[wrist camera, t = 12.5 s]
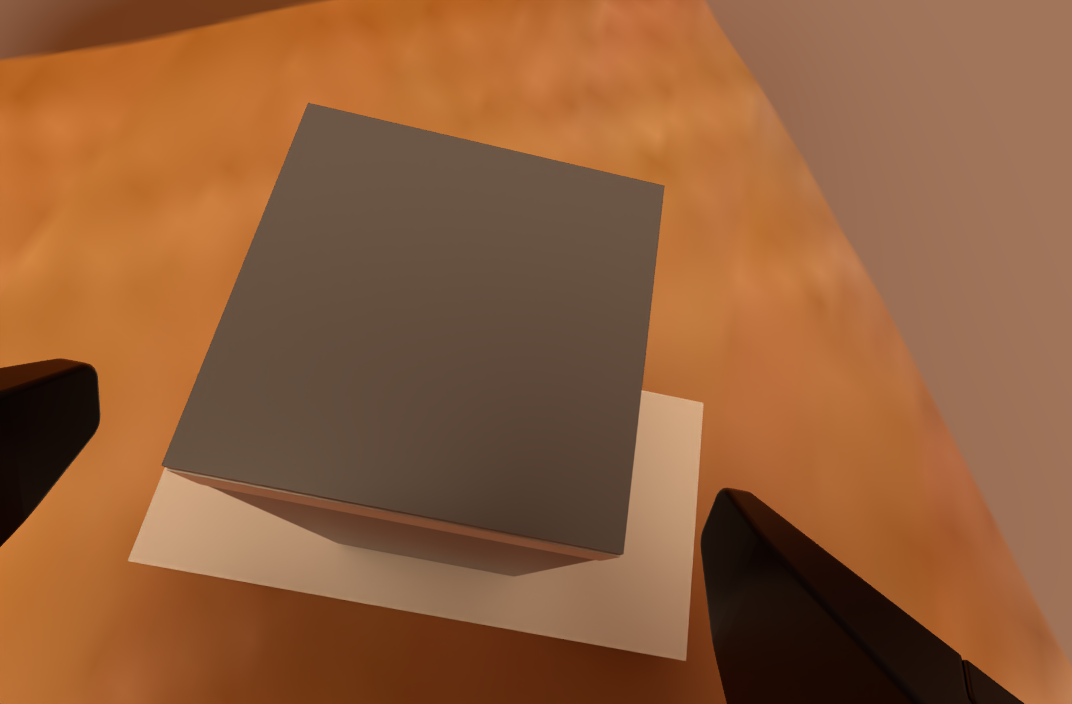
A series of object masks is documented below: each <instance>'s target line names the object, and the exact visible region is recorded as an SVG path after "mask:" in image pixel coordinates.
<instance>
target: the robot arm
mask: <svg viewBox="0 0 1072 704" xmlns="http://www.w3.org/2000/svg"><path fill="white" fill-rule="evenodd" d="M99 422H100V402H99V388H98V376H97V372H96V370H95V368H94V367H93V366H92V365H90V364H87V363H83V362H78V361H73V360H68V359H52V360H46V361H40V362H34V363H28V364H22V365H16V366H10V367H4V368H0V547H1V546H2V545H3V544H4V543H5V542H6V541H7V540H8V539H9V538H10V537H11V535H12V534H13V533H14V532H15V531H16V530H17V529H18V528H19V527H20V526H21V525H22V524H23V522H24V521H25V520H26V519H27V518H28V517H29V515H30V514H31V513H32V512H33V511H34V510H35V508H36V507H37V506H38V505H39V504H40V502H41V501H42V500H43V498H44V497H45V496H46V495H47V493H48V492H49V491H50V490H51V488H52V487H53V486H54V485H55V483H56V482H57V481H58V480H59V478H60V477H61V476H62V475H63V473H64V472H65V471H66V470H67V468H68V467H69V466H70V464H71V463H72V462H73V461H74V459H75V458H76V457H77V456H78V454H79V453H80V452H81V451H82V449H83V448H84V447H85V446H86V444H87V443H88V442H89V441H90V439H91V438H92V437H93V435H94V434H95V432H96V430H97V428H98V426H99ZM701 554H702V562H703V571H704V579H705V587H706V596H707V604H708V612H709V620H710V628H711V635H712V641H713V646H714V651H715V656H716V660H717V664H718V669H719V673H720V677H721V681H722V686H723V690H724V694H725V698H726V702H727V704H1024V703H1023V702H1022V701H1020V700H1019V699H1018V698H1016V697H1015V696H1014V695H1012V694H1011V693H1010V692H1008V691H1007V690H1006V689H1004V688H1003V687H1002V686H1000V685H999V684H998V683H996V682H995V681H994V680H992V679H991V678H990V677H989V676H987V675H986V674H985V673H983V672H982V671H981V670H980V669H978V668H977V667H976V666H974V665H973V664H972V663H971V662H969V661H968V660H962V658H961V655H960V654H959V653H957V652H956V651H955V650H954V649H952V648H951V647H950V646H948V645H947V644H946V643H944V642H943V641H942V640H941V639H939V638H938V637H937V636H935V635H934V634H933V633H931V632H930V631H929V630H928V629H926V628H925V627H924V626H922V625H921V624H920V623H919V622H917V621H916V620H915V619H913V618H912V617H911V616H910V615H908V614H907V613H906V612H904V611H903V610H902V609H900V608H899V607H898V606H897V605H895V604H894V603H893V602H891V601H890V600H889V599H888V598H886V597H885V596H884V595H882V594H881V593H880V592H878V591H877V590H876V589H875V588H873V587H872V586H871V585H869V584H868V583H867V582H866V581H864V580H863V579H862V578H860V577H859V576H858V575H857V574H855V573H854V572H853V571H851V570H850V569H849V568H847V567H846V566H845V565H844V564H842V563H841V562H840V561H838V560H837V559H836V558H835V557H833V556H832V555H831V554H829V553H828V552H827V551H825V550H824V549H823V548H822V547H820V546H819V545H818V544H816V543H815V542H814V541H813V540H811V539H810V538H809V537H807V536H806V535H805V534H804V533H802V532H801V531H800V530H798V529H797V528H796V527H794V526H793V525H792V524H791V523H789V522H788V521H787V520H785V519H784V518H783V517H782V516H780V515H779V514H778V513H776V512H775V511H774V510H772V509H771V508H770V507H769V506H767V505H766V504H765V503H763V502H762V501H761V500H760V499H758V498H757V497H756V496H754V495H753V494H752V493H750V492H747V491H742V490H737V489H732V488H723V489H721V490H720V491H719V493H718V494H717V496H716V498H715V501H714V503H713V506H712V508H711V511H710V513H709V516H708V518H707V521H706V523H705V526H704V528H703V531H702V535H701Z"/></svg>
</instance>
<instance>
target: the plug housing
mask: <svg viewBox="0 0 1072 704" xmlns="http://www.w3.org/2000/svg"><path fill="white" fill-rule="evenodd" d="M663 194H664V186H663V185H659V184H655V183H651V182H646V181H642V180H638V179H633V178H629V177H625V176H620V175H616V174H612V173H608V172H603V171H599V170H595V169H590V168H586V167H582V166H577V165H573V164H569V163H565V162H560V161H556V160H552V159H547V158H543V157H539V156H534V155H530V154H526V153H522V152H517V151H513V150H509V149H504V148H500V147H496V146H491V145H487V144H483V143H479V142H474V141H470V140H466V139H461V138H457V137H453V136H449V135H444V134H440V133H436V132H431V131H427V130H423V129H418V128H414V127H410V126H406V125H401V124H397V123H393V122H388V121H384V120H380V119H375V118H371V117H367V116H363V115H358V114H354V113H350V112H345V111H341V110H337V109H332V108H328V107H324V106H320V105H315V104H311V103H308V105H307V107H306V110H305V112H304V114H303V117H302V119H301V122H300V124H299V127H298V129H297V132H296V134H295V137H294V139H293V142H292V144H291V147H290V149H289V152H288V154H287V156H286V159H285V161H284V164H283V166H282V169H281V171H280V174H279V176H278V179H277V181H276V184H275V186H274V189H273V191H272V194H271V196H270V198H269V201H268V203H267V206H266V208H265V211H264V213H263V216H262V218H261V221H260V223H259V226H258V228H257V231H256V233H255V236H254V238H253V240H252V243H251V245H250V248H249V250H248V253H247V255H246V258H245V260H244V263H243V265H242V268H241V270H240V273H239V275H238V278H237V280H236V282H235V285H234V287H233V290H232V292H231V295H230V297H229V300H228V302H227V305H226V307H225V310H224V312H223V315H222V317H221V320H220V322H219V324H218V327H217V329H216V332H215V334H214V337H213V339H212V342H211V344H210V347H209V349H208V352H207V354H206V357H205V359H204V362H203V364H202V366H201V369H200V371H199V374H198V376H197V379H196V381H195V384H194V386H193V389H192V391H191V394H190V396H189V399H188V401H187V404H186V406H185V408H184V411H183V413H182V416H181V418H180V421H179V423H178V426H177V428H176V431H175V433H174V436H173V438H172V441H171V443H170V446H169V448H168V450H167V453H166V455H165V458H164V460H163V463H162V466H164V467H166V468H167V471H170V472H172V473H174V474H177V475H179V476H181V477H184V478H186V479H188V480H190V481H193V482H195V483H197V484H200V485H205V486H209V487H211V488H214V489H216V490H218V491H220V492H223V493H225V494H227V495H229V496H232V497H234V498H236V499H239V500H241V501H243V502H245V503H248V504H250V505H252V506H254V507H257V508H259V509H261V510H263V511H266V512H268V513H270V514H272V515H275V516H277V517H279V518H281V519H284V520H286V521H288V522H290V523H293V524H295V525H297V526H299V527H302V528H304V529H306V530H308V531H311V532H313V533H315V534H318V535H320V536H322V537H324V538H327V539H329V540H331V541H333V542H336V543H338V544H343V545H348V546H354V547H359V548H364V549H370V550H375V551H380V552H386V553H391V554H396V555H402V556H407V557H412V558H418V559H423V560H428V561H434V562H439V563H444V564H450V565H455V566H460V567H466V568H471V569H476V570H482V571H487V572H492V573H498V574H503V575H508V576H514V577H515V576H520V575H525V574H530V573H535V572H539V571H544V570H549V569H554V568H559V567H564V566H569V565H573V564H578V563H583V562H588V561H593V560H598V561H603V560H609V559H614V558H619V557H620V556H621V555H622V554H624V545H625V536H626V527H627V518H628V509H629V500H630V491H631V482H632V473H633V464H634V455H635V446H636V437H637V428H638V419H639V410H640V401H641V392H642V383H643V374H644V365H645V356H646V347H647V338H648V329H649V320H650V311H651V302H652V293H653V284H654V275H655V266H656V257H657V248H658V239H659V230H660V221H661V212H662V203H663Z"/></svg>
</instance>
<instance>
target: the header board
mask: <svg viewBox="0 0 1072 704" xmlns="http://www.w3.org/2000/svg"><path fill="white" fill-rule="evenodd" d="M702 418H703V403H701V402H696V401H692V400H687V399H682V398H677V397H672V396H667V395H663V394H658V393H653V392H648V391H643V390H642V392H641V401H640V410H639V419H638V428H637V437H636V446H635V455H634V464H633V473H632V482H631V491H630V500H629V509H628V518H627V527H626V536H625V545H624V554H622V555H621V556H620V557H619V558H614V559H609V560H603V561H598V560H593V561H588V562H583V563H578V564H573V565H569V566H564V567H559V568H554V569H549V570H544V571H539V572H535V573H530V574H525V575H520V576H515V577H514V576H508V575H503V574H498V573H492V572H487V571H482V570H476V569H471V568H466V567H460V566H455V565H450V564H444V563H439V562H434V561H428V560H423V559H418V558H412V557H407V556H402V555H396V554H391V553H386V552H380V551H375V550H370V549H364V548H359V547H354V546H348V545H343V544H338V543H336V542H333V541H331V540H329V539H327V538H324V537H322V536H320V535H318V534H315V533H313V532H311V531H308V530H306V529H304V528H302V527H299V526H297V525H295V524H293V523H290V522H288V521H286V520H284V519H281V518H279V517H277V516H275V515H272V514H270V513H268V512H266V511H263V510H261V509H259V508H257V507H254V506H252V505H250V504H248V503H245V502H243V501H241V500H239V499H236V498H234V497H232V496H229V495H227V494H225V493H223V492H220V491H218V490H216V489H214V488H211V487H209V486H205V485H200V484H197V483H195V482H193V481H190V480H188V479H186V478H184V477H181V476H179V475H177V474H174V473H172V472H170V471H167V468H166V467H165V469H164V471H163V474H162V476H161V479H160V481H159V484H158V486H157V489H156V491H155V494H154V496H153V499H152V501H151V504H150V506H149V509H148V511H147V514H146V516H145V519H144V521H143V524H142V526H141V529H140V531H139V534H138V536H137V539H136V541H135V544H134V546H133V549H132V551H131V554H130V556H129V559H128V561H130V562H135V563H141V564H147V565H152V566H158V567H163V568H169V569H175V570H180V571H186V572H191V573H197V574H203V575H208V576H214V577H219V578H225V579H230V580H236V581H242V582H247V583H253V584H258V585H264V586H270V587H275V588H281V589H286V590H292V591H297V592H303V593H309V594H314V595H320V596H325V597H331V598H337V599H342V600H348V601H353V602H359V603H364V604H370V605H376V606H381V607H387V608H392V609H398V610H404V611H409V612H415V613H420V614H426V615H431V616H437V617H443V618H448V619H454V620H459V621H465V622H471V623H476V624H482V625H487V626H493V627H499V628H504V629H510V630H515V631H521V632H526V633H532V634H538V635H543V636H549V637H554V638H560V639H566V640H571V641H577V642H582V643H588V644H593V645H599V646H605V647H610V648H616V649H621V650H627V651H633V652H638V653H644V654H649V655H655V656H660V657H666V658H672V659H677V660H683V661H686V654H687V639H688V625H689V610H690V595H691V580H692V566H693V551H694V536H695V521H696V506H697V492H698V477H699V462H700V447H701V432H702Z"/></svg>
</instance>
